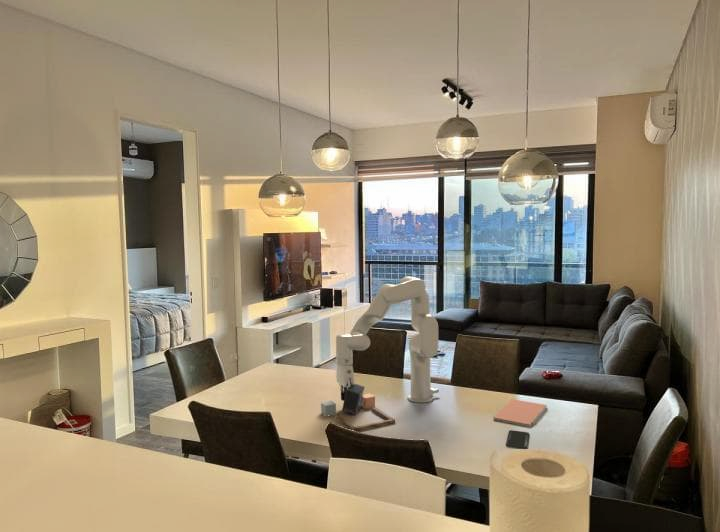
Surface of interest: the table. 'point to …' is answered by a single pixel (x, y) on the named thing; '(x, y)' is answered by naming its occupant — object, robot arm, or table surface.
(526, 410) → the notebook
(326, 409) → the slate block
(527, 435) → the phone
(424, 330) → the robot arm
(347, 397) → the small box
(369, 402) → the terracotta block
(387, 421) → the frame
